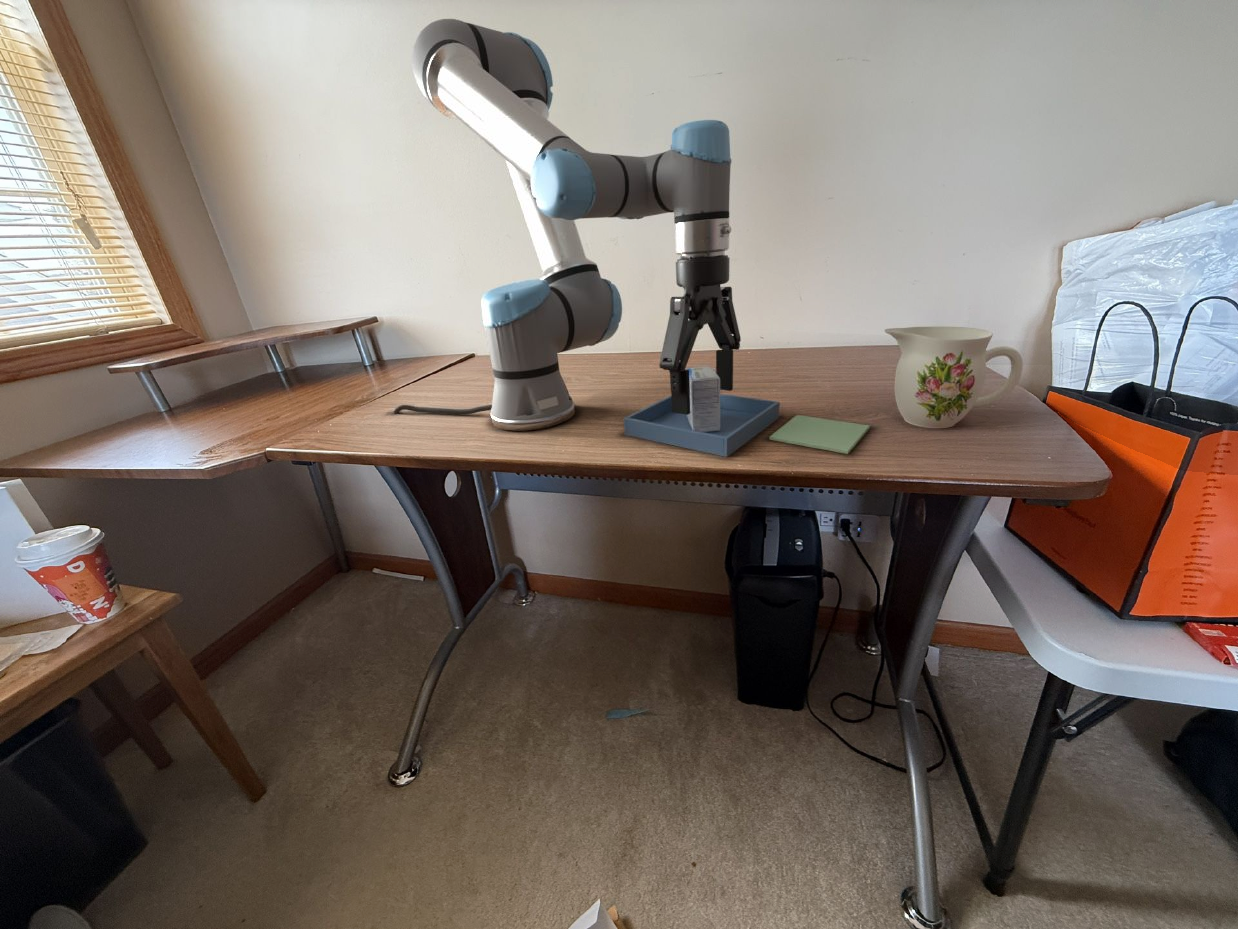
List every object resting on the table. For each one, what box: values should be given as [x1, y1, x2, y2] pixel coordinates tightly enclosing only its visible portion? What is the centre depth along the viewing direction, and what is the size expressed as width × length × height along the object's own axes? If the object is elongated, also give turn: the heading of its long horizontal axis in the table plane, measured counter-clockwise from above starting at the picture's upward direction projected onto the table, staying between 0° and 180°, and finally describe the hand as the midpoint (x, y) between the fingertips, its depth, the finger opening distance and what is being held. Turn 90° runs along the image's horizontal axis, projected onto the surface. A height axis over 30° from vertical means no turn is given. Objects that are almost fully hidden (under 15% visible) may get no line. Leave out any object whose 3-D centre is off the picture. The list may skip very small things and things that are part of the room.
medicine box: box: [685, 365, 721, 432], centre depth 76 cm, size 8×4×9 cm, turn 179°
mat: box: [768, 414, 871, 455], centre depth 71 cm, size 11×11×1 cm
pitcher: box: [884, 326, 1024, 429], centre depth 69 cm, size 11×18×14 cm, turn 74°
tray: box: [623, 393, 781, 458], centre depth 77 cm, size 18×18×3 cm
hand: (704, 400), depth 76 cm, fingers open, 13 cm apart
